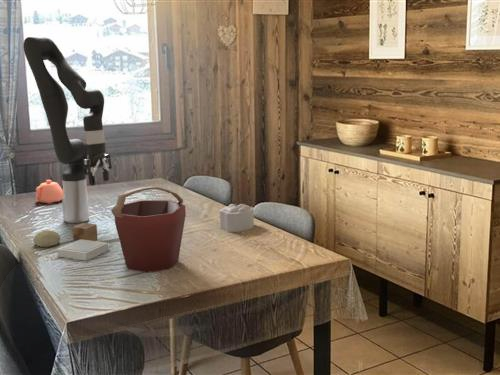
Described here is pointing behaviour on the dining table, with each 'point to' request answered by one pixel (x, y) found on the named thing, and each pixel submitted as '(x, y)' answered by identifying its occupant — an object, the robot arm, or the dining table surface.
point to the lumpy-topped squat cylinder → (236, 218)
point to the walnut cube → (85, 232)
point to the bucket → (149, 231)
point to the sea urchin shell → (46, 238)
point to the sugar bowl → (49, 192)
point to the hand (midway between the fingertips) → (99, 183)
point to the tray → (83, 249)
